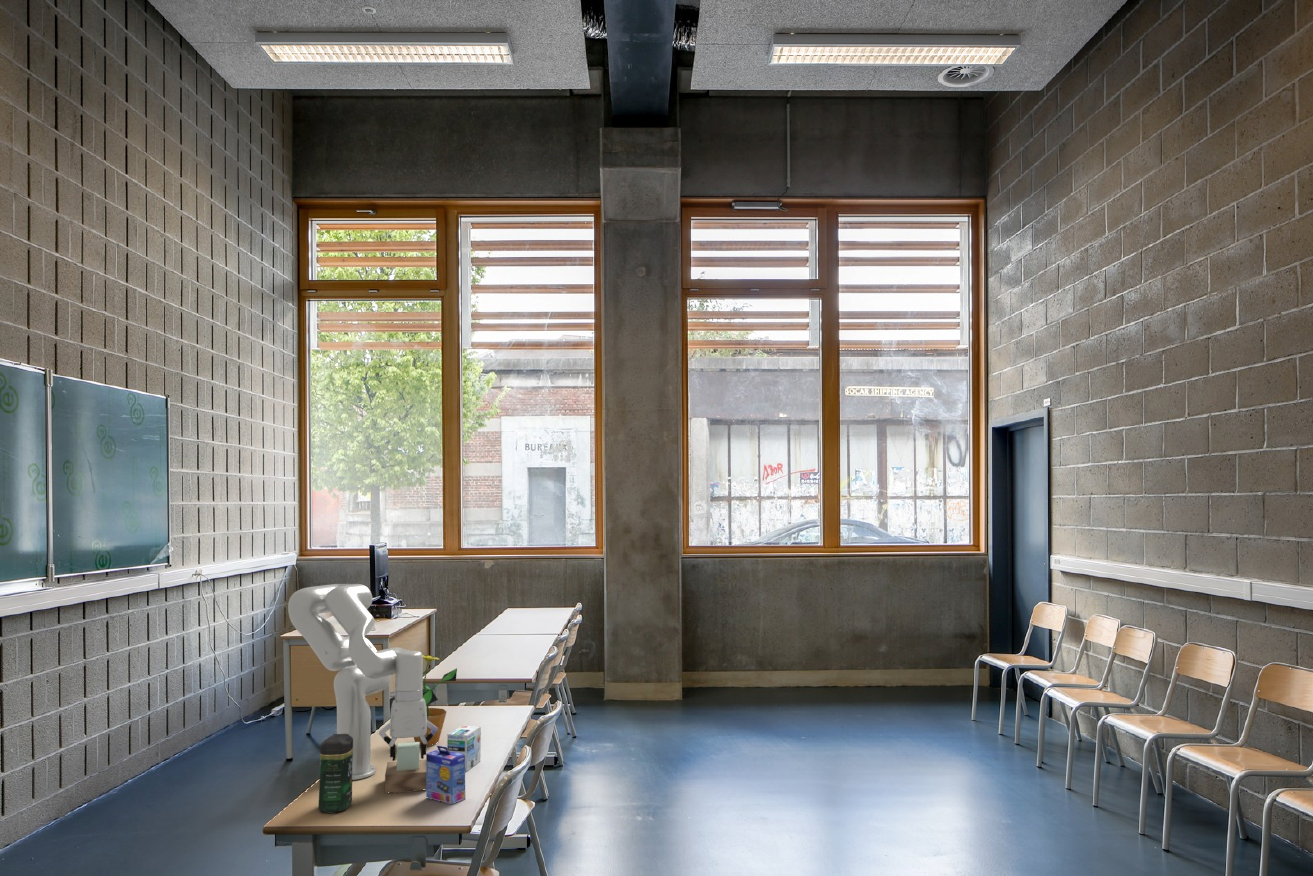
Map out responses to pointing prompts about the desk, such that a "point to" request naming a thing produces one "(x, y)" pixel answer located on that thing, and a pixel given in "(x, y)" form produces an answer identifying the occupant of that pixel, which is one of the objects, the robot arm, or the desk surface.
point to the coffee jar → (336, 773)
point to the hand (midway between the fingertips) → (408, 758)
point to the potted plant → (434, 714)
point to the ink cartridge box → (445, 775)
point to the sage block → (408, 756)
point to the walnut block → (405, 778)
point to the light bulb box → (466, 744)
